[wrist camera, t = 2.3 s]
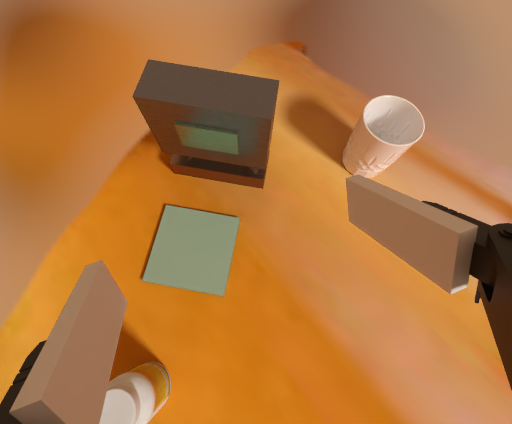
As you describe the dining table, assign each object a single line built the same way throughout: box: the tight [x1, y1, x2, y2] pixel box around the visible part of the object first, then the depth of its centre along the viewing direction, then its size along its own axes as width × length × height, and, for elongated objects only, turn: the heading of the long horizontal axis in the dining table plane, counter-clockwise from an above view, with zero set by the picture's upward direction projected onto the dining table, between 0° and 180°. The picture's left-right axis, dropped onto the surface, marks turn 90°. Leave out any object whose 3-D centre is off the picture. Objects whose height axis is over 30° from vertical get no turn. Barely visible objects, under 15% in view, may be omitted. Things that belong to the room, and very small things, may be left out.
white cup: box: [342, 95, 425, 178], centre depth 39 cm, size 8×8×10 cm
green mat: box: [142, 205, 240, 296], centre depth 37 cm, size 11×11×1 cm
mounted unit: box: [133, 60, 279, 189], centre depth 35 cm, size 14×5×16 cm, turn 80°
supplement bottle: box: [99, 362, 171, 424], centre depth 27 cm, size 5×5×10 cm
